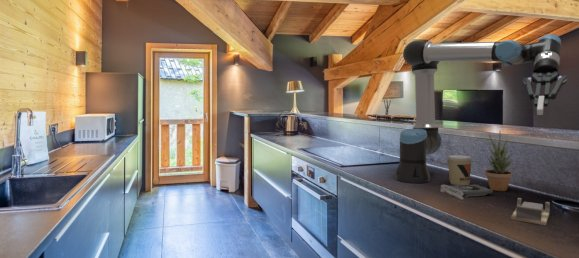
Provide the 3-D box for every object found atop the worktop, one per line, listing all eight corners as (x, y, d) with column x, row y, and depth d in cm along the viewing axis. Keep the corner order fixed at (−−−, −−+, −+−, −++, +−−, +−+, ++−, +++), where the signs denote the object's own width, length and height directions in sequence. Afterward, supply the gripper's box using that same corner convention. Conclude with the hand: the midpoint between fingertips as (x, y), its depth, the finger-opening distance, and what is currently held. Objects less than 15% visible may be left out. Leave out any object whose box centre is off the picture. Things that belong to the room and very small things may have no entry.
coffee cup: (460, 187, 145) (460, 158, 144) (443, 182, 153) (442, 156, 153) (476, 184, 148) (476, 156, 147) (458, 180, 157) (458, 154, 156)
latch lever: (523, 200, 112) (518, 209, 104) (543, 203, 109) (540, 212, 101) (523, 206, 112) (518, 215, 104) (543, 209, 109) (539, 218, 101)
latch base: (517, 208, 114) (518, 196, 114) (549, 213, 108) (550, 201, 108) (511, 219, 103) (511, 206, 103) (545, 225, 98) (546, 211, 98)
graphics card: (460, 192, 125) (440, 183, 136) (460, 202, 125) (439, 193, 137) (500, 190, 128) (477, 182, 140) (499, 199, 128) (476, 191, 140)
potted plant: (479, 187, 144) (480, 129, 142) (496, 185, 146) (498, 128, 145) (500, 193, 134) (502, 130, 132) (518, 191, 137) (520, 129, 135)
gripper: (524, 60, 129) (516, 104, 118) (568, 56, 121) (564, 104, 109) (525, 75, 133) (517, 119, 122) (568, 72, 125) (564, 120, 113)
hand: (539, 112), depth 116 cm, fingers closed
